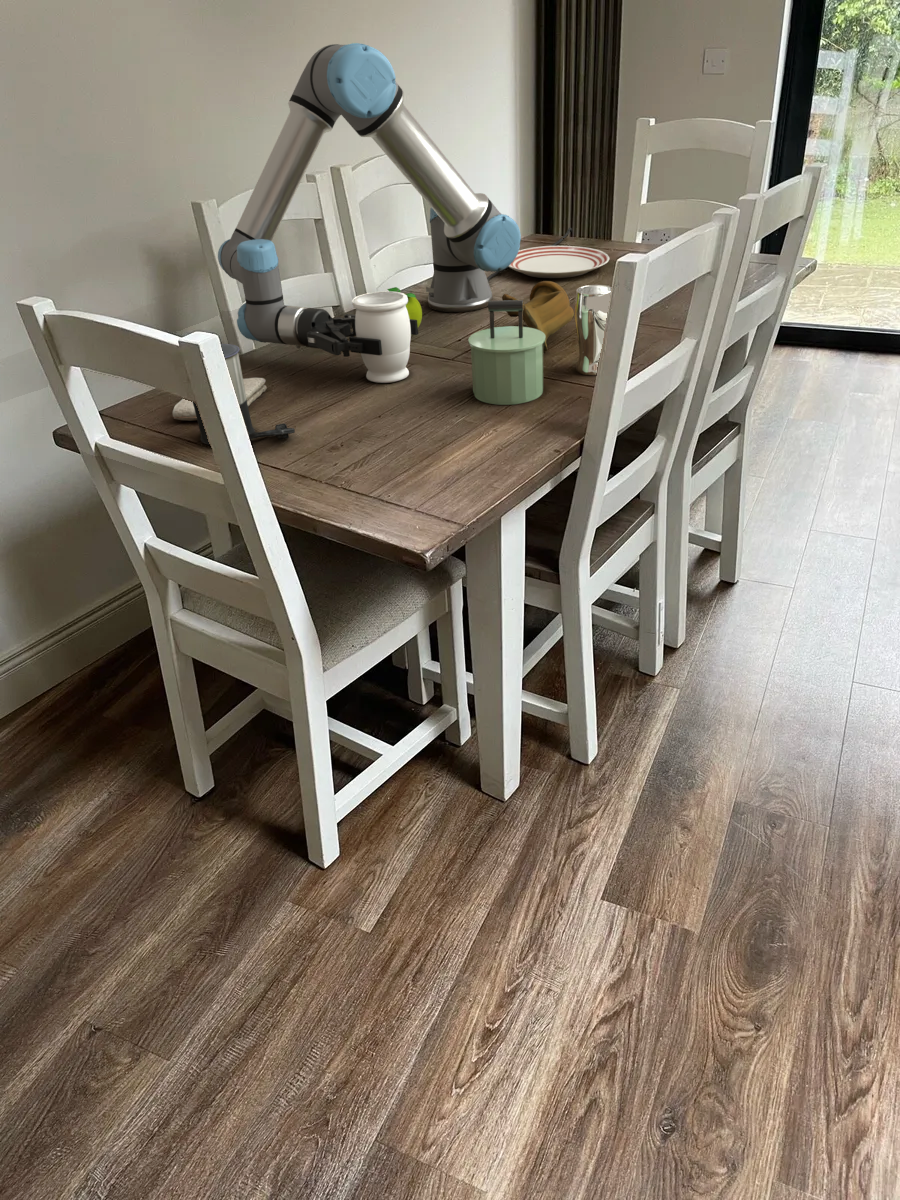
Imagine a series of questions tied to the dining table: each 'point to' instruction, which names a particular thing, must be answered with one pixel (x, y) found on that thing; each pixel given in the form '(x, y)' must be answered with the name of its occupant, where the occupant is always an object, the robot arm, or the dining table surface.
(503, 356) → the pot
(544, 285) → the brown looped sculpture
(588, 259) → the dinner plate
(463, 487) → the dining table surface
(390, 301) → the jar
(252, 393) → the washcloth
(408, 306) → the fruit
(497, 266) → the robot arm
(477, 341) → the pot lid
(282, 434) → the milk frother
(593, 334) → the beer glass
